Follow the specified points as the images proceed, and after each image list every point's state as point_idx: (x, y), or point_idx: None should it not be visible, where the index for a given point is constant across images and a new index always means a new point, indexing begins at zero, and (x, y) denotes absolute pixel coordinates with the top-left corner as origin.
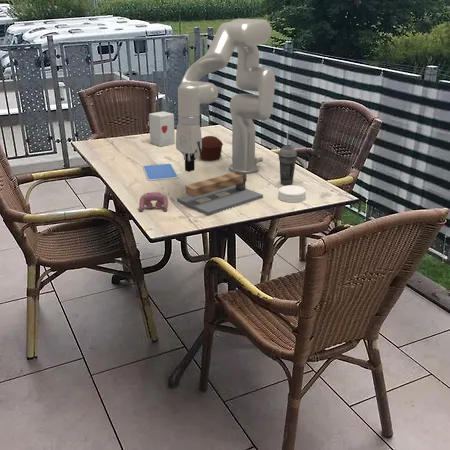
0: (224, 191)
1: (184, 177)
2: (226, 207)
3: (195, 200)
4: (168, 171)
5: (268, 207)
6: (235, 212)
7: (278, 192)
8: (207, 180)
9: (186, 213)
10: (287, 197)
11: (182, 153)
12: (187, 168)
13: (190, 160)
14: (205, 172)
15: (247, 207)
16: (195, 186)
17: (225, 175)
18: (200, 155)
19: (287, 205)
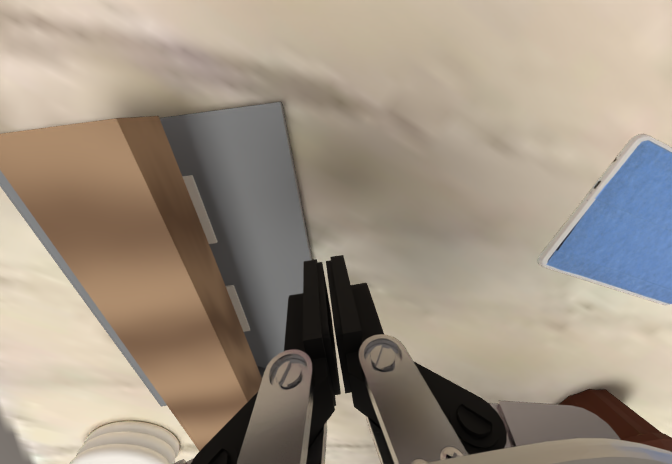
0: (256, 329)
1: (523, 285)
2: (60, 259)
3: (190, 175)
4: (624, 263)
5: (58, 375)
6: (21, 268)
7: (149, 442)
8: (186, 310)
9: (57, 42)
10: (86, 445)
11: (483, 409)
12: (306, 276)
13: (271, 375)
14: (500, 357)
15: (77, 326)
16: (63, 185)
17: (235, 404)
18: (616, 401)
19: (65, 418)
